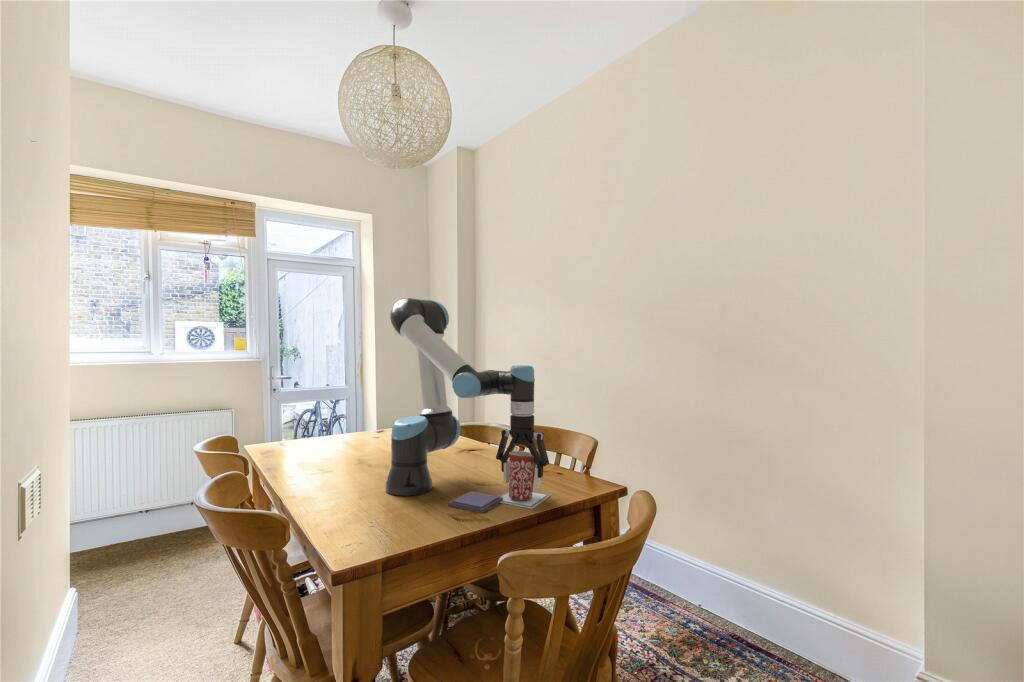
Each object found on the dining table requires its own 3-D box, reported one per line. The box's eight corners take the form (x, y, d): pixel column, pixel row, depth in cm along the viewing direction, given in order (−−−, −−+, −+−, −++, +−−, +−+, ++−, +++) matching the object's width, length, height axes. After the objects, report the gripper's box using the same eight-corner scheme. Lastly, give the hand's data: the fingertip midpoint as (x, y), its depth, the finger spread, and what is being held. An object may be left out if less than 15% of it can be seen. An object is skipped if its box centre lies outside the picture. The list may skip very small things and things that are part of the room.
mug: (536, 501, 139) (539, 456, 141) (506, 499, 139) (509, 454, 141) (533, 492, 152) (535, 450, 153) (505, 490, 152) (508, 448, 153)
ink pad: (448, 505, 138) (448, 501, 138) (470, 494, 148) (470, 490, 148) (482, 513, 132) (482, 508, 132) (502, 500, 143) (502, 496, 143)
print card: (491, 501, 142) (491, 499, 142) (512, 488, 155) (512, 487, 155) (532, 508, 136) (532, 507, 136) (551, 495, 148) (551, 494, 148)
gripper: (485, 413, 147) (484, 482, 147) (550, 419, 137) (550, 494, 136) (496, 410, 154) (496, 477, 154) (560, 415, 143) (560, 487, 143)
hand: (521, 485), depth 145 cm, fingers open, 10 cm apart
